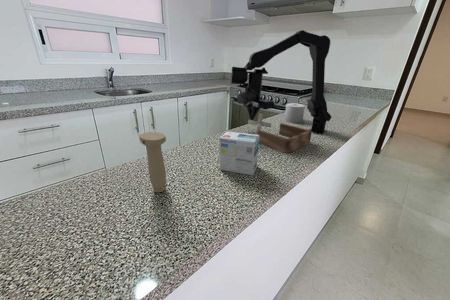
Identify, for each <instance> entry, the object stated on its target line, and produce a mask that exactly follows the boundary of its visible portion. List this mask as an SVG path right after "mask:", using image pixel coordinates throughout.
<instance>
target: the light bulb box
mask: <svg viewBox="0 0 450 300" xmlns="http://www.w3.org/2000/svg"><path fill="white" fill-rule="evenodd" d="M259 144H260V143H259V135H257V134H256V133H255V134H253V133H243V132H234V131H226V132H224V134H221V136H220V137H219V170H220V171H226V172H230V173H237V174H243V175H249V176H254V174H255V171H256V170H257V168H258V159H259V146H260V145H259Z"/></svg>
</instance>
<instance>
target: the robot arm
mask: <svg viewBox="0 0 450 300" xmlns="http://www.w3.org/2000/svg"><path fill="white" fill-rule="evenodd" d="M298 44H300V45H302V46H304V47H307V48H308V50H309V55H310V57H311V60H312V79H311V80H312V82H311V83H312V84H311V86H312V87H311V88H312V89H311V90H312V91H311V94H312V95H311V96H310V99H306V103H307V106H306V109H307V110H308V112H309V113H310V116H311V117H312V123H311V128H310V129H308V130H311V131H312V133H315V134H318V135H323V134H325V133H327V132H328V130H327V129H326V125H327V122H329V121H331V119H332V115H331V114H330V113H329V111H328V105H327V104H328V103H327V101H326V98H325V92H324V91H325V74H326V73H325V71H326V70H325V68H326V59H327V57H328V55H329V52H330V47H331V39H330V37H329V36H327V35H325V34H324V35H318V34H314V33H311V32H308V31H305V30H303V29H301V30H299V31H296V32H295V33H294V34H292V35H289V36H288V37H286V38H284V39H282V40H280V41H279V42H277V43H275V44H274V45H271V46H269V47H268V48H264V49H260V50H259V51H255V52H253V53H251V54H250V56H249V58H248V62H247V63H246V64H245V66H244V67H239V66H238V67H237V66H232V67H231V74H230V84H231V85H245V83H247V82H248V83H247V86H245V88H244V89H245V90H244V91H242V92H240V93H239V94H236V95H235V96H234V100H233V101H234V102H235V103H237V104H241V105H243V107H245V108H246V109H247V112H248V117H249V120H254V119H255V117H256V116H257V114H258V112H260V109H262V110H270V109H274V108H275V101H274V100H270V99H263V97H262V96H261V94H262V91H263V90H264V87H263V86H262V85H263V75H264V74H265V75H267V74H268V73H269V72H268V71H267V70H266V68H265V67H263V66H264V65H266V64H267V63H268V62H269V61H271V60H272V59H273V58H274V57H276V56H277V55H279V54H281V53H284V52H285V51H287V50H288V49H291V48H293V47H294V46H297V45H298Z"/></svg>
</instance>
